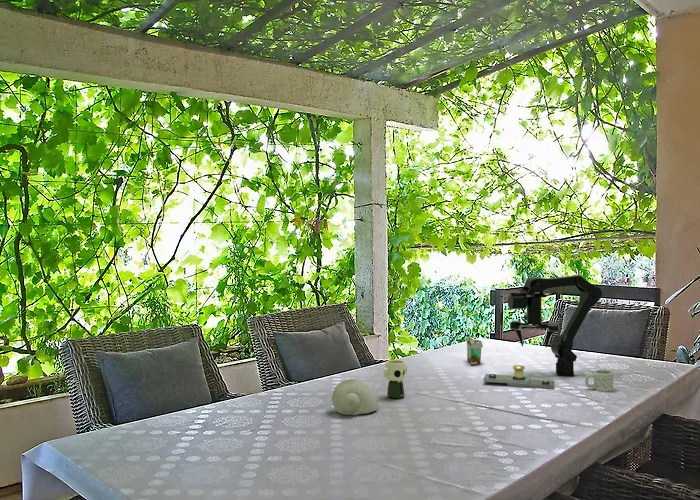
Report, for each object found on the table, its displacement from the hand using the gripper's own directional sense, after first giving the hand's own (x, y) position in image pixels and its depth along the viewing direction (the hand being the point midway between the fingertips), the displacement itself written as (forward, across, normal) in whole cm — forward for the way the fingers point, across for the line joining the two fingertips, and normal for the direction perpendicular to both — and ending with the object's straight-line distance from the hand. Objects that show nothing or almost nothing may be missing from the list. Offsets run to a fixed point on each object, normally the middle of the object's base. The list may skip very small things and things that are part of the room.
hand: (534, 346), depth 268 cm
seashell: (+12, +55, +67) cm, 88 cm away
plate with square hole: (+12, +5, +16) cm, 21 cm away
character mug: (+12, +46, +47) cm, 67 cm away
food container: (+12, +26, -18) cm, 34 cm away
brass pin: (+12, +5, +16) cm, 21 cm away
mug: (+12, -24, +16) cm, 31 cm away
